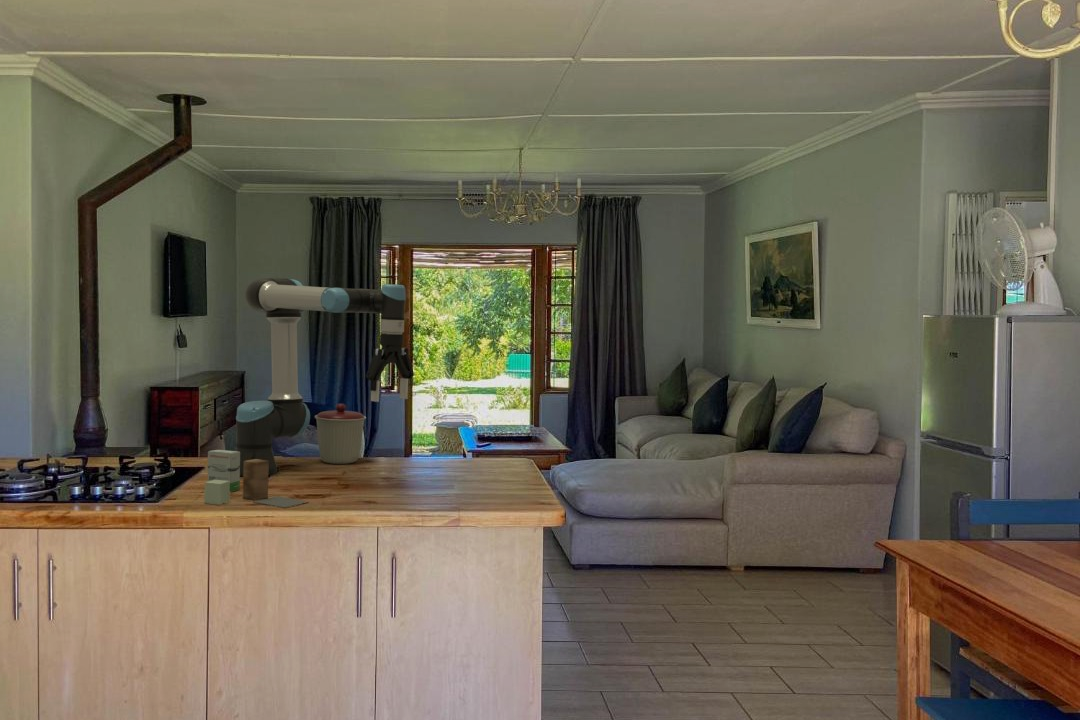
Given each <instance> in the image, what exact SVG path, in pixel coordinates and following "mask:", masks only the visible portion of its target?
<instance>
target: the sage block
mask: <svg viewBox="0 0 1080 720" xmlns="http://www.w3.org/2000/svg"><path fill="white" fill-rule="evenodd" d="M230 493H231V492H230V481H224V480H211V481H208V482H207V481H205V482H204V493H203V494H204V495H203V499H204V502H203V503H204V504H206V503H207V505H210V504H211V505H217V506H218V505H219V506H221V505H223V503H224V504H227V503H229V502H231V500H230V497H231V495H230ZM226 502H227V503H226Z"/></svg>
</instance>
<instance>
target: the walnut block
mask: <svg viewBox="0 0 1080 720" xmlns="http://www.w3.org/2000/svg"><path fill="white" fill-rule="evenodd" d="M268 472H269V461H266V460H260V459H253V460H247V461H244V468H243V476H242V499H244V500H252V501H255V500H256V501H258V500H259V499H261V500H263V499H264V498H265V499H268V498H269V475H268Z"/></svg>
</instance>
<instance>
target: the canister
mask: <svg viewBox="0 0 1080 720" xmlns="http://www.w3.org/2000/svg"><path fill="white" fill-rule="evenodd" d="M346 408H347V406H346V404H344V403H337V404H336V405H335V410H326V411H321V412H319V413H317V414H316V415H314V419H316V429H317V443H318V444H317V445H318V450H319V451H318V452H319V457H320V459H321V461H323V462H324V463H327V464H333V465H344V464H345V465H346V464H348V465H349V464H352V463H355V462H357V460H358V459H359V456H360V451H361V445H362V438H363V433H364V424H365V420H366V419H367V417H366V415H364V414H363V413H362V412H358V411H354V410H353V411H352V410H346Z"/></svg>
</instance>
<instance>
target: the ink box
mask: <svg viewBox="0 0 1080 720" xmlns="http://www.w3.org/2000/svg"><path fill="white" fill-rule="evenodd" d="M240 477H241V475H240V452H237V451H235V450H225V449H214V450H209V451H207V477H206V478H207V481H206V482H208V481H211V480H224V481H230V493H232V492H236V491H238V490H241V489H240V488H241V487H240V485H241V483H240V482H241V481H240V479H241V478H240Z"/></svg>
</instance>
